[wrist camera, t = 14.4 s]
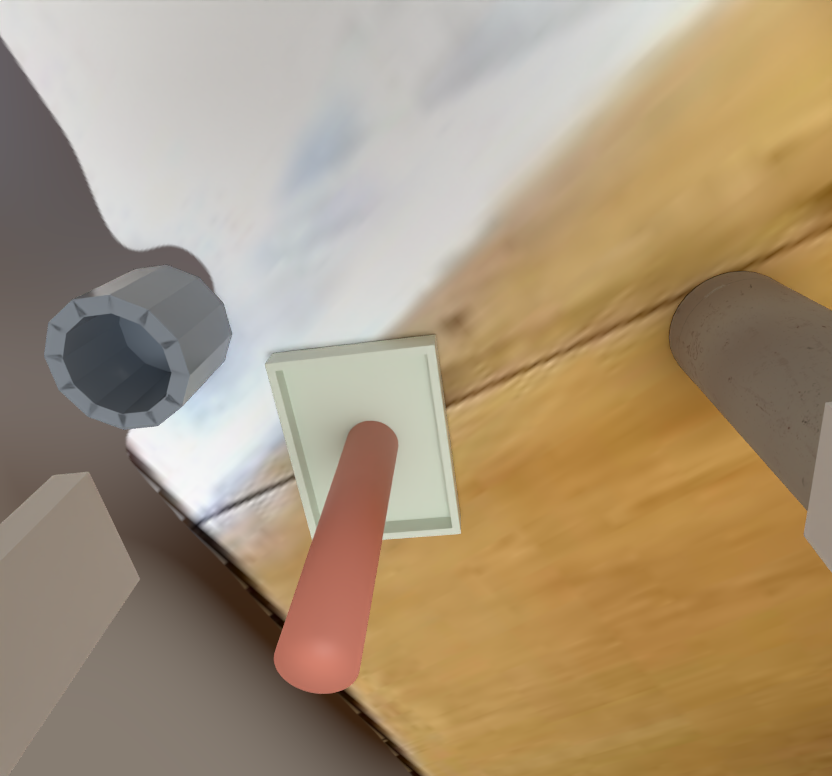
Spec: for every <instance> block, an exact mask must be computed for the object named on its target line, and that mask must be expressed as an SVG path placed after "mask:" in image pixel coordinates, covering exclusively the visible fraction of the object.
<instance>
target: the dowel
mask: <svg viewBox="0 0 832 776" xmlns="http://www.w3.org/2000/svg"><path fill="white" fill-rule="evenodd" d="M397 452H398V439H397V436H396V434H395V433H394V431H393V430H392V429H391V428H390V427H388V426H387V425H385V424H383V423H381V422H378V421H364V422H361V423H358V424H357V425H355V426H354V427H353V428H352V429H351V430H350V432H349V433H348V436H347V439H346V442H345V445H344V448H343V451H342V454H341V457H340V460H339V463H338V466H337V469H336V472H335V475H334V478H333V481H332V484H331V487H330V490H329V493H328V495H327V498H326V501H325V504H324V507H323V510H322V513H321V516H320V519H319V522H318V525H317V528H316V531H315V534H314V537H313V540H312V543H311V546H310V549H309V552H308V555H307V558H306V561H305V564H304V567H303V570H302V573H301V576H300V579H299V582H298V585H297V588H296V591H295V594H294V597H293V600H292V603H291V606H290V609H289V612H288V615H287V618H286V621H285V624H284V627H283V630H282V633H281V636H280V639H279V642H278V644H277V648H276V651H275V654H274V663H275V667H276V669H277V671H278V672H279V674H280V675H281V676H282V677H283V678H284V679H285V680H286V681H287V682H288V683H290V684H291V685H293V686H295V687H297V688H299V689H301V690H304V691H307V692H312V693H320V694H321V693H322V694H323V693H324V694H326V693H334V692H338V691H341V690H343V689H345V688H347V687H349V686H350V685H351V684H353V682H354V681H355V680H356V679H357V677H358V674H359V671H360V665H361V659H362V653H363V648H364V642H365V636H366V630H367V625H368V619H369V613H370V607H371V602H372V596H373V590H374V584H375V578H376V573H377V567H378V561H379V555H380V550H381V544H382V538H383V532H384V527H385V521H386V515H387V509H388V503H389V498H390V492H391V486H392V480H393V475H394V469H395V463H396V457H397Z"/></svg>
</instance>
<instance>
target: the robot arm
mask: <svg viewBox="0 0 832 776" xmlns="http://www.w3.org/2000/svg"><path fill="white" fill-rule="evenodd" d="M804 537H805V538H806V539H807V540H808V542H809V543H810V544H811V546H812V547H813V548H814V550H815V551H816V552H817V554H818V555H819V556H820V558H821V559H822V560H823V562H824V563H825V564H826V566H827V567H828V568H829V570H830V571H831V572H832V402H826V403H825V408H824V414H823V421H822V427H821V433H820V439H819V445H818V451H817V457H816V463H815V469H814V475H813V482H812V488H811V494H810V500H809V506H808V512H807V518H806V524H805V530H804ZM139 580H140V578H139V576H138V574H137V572H136V570H135V568H134V565H133V564H132V561H131V559H130V557H129V555H128V553H127V551H126V549H125V547H124V544H123V542H122V540H121V538H120V536H119V534H118V532H117V530H116V528H115V526H114V524H113V522H112V519H111V517H110V515H109V513H108V511H107V509H106V507H105V505H104V503H103V500H102V498H101V496H100V494H99V492H98V490H97V488H96V486H95V484H94V482H93V480H92V478H91V475H90V473H89V472H82V473H72V474H61V475H53V476H52V477H51V478H50V479H48V480H47V481H46V482H45V483H44V484H43V485H42V486H41V487H40V488H39V489H38V490H37V491H36V492H34V493H33V494H32V495H31V496H30V497H29V498H28V499H27V500H26V501H25V502H24V503H23V504H22V505H20V506H19V507H18V508H17V509H16V510H15V511H14V512H13V513H12V514H11V515H10V516H9V517H8V518H6V519H5V520H4V521H3V522H2V523H1V524H0V776H8V775H9V774H10V772H11V771H12V769H13V768H14V766H15V765H16V763H17V762H18V760H19V759H20V757H21V756H22V754H23V753H24V751H25V750H26V748H27V747H28V745H29V744H30V743H31V741H32V739H33V738H34V737H35V735H36V734H37V732H38V731H39V729H40V728H41V726H42V725H43V723H44V722H45V720H46V719H47V717H48V716H49V714H50V713H51V711H52V710H53V708H54V707H55V705H56V704H57V702H58V701H59V699H60V698H61V696H62V695H63V693H64V692H65V690H66V689H67V687H68V686H69V684H70V683H71V681H72V680H73V678H74V677H75V675H76V674H77V672H78V671H79V669H80V668H81V666H82V665H83V663H84V662H85V660H86V659H87V657H88V656H89V654H90V653H91V651H92V650H93V648H94V647H95V646H96V644H97V643H98V641H99V640H100V638H101V637H102V635H103V634H104V632H105V631H106V629H107V628H108V626H109V625H110V623H111V621H112V620H113V619H114V617H115V616H116V614H117V612H118V611H119V609H120V608H121V607H122V605H123V604H124V602H125V601H126V599H127V598H128V596H129V595H130V593H131V592H132V590H133V589H134V587H135V586H136V584H137V583H138V581H139Z"/></svg>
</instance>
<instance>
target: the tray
mask: <svg viewBox="0 0 832 776" xmlns="http://www.w3.org/2000/svg"><path fill="white" fill-rule="evenodd" d="M265 367H266V371H267V374H268V378H269V382H270V386H271V389H272V393H273V397H274V400H275V404H276V408H277V411H278V415H279V419H280V423H281V426H282V430H283V434H284V437H285V441H286V445H287V448H288V452H289V456H290V460H291V463H292V467H293V471H294V474H295V478H296V482H297V485H298V489H299V493H300V497H301V500H302V504H303V508H304V511H305V515H306V519H307V522H308V526H309V530H310V534H311V537H312V540H313V537H314V534H315V531H316V528H317V525H318V522H319V519H320V516H321V513H322V510H323V507H324V504H325V501H326V498H327V495H328V493H329V490H330V487H331V484H332V481H333V478H334V475H335V472H336V469H337V466H338V463H339V460H340V457H341V454H342V451H343V448H344V445H345V442H346V439H347V436H348V433H349V432H350V430H351V429H352V428H353V427H354V426H355V425H357V424H358V423H361V422H364V421H378V422H381V423H383V424H385V425H387V426H388V427H390V428H391V429H392V430H393V431H394V433H395V434H396V436H397V439H398V452H397V457H396V463H395V469H394V475H393V480H392V486H391V492H390V498H389V503H388V509H387V515H386V521H385V527H384V532H383V538H382V540H385V539H398V538H412V537H425V536H438V535H451V534H461V516H460V509H459V501H458V494H457V487H456V480H455V472H454V465H453V458H452V451H451V443H450V436H449V429H448V422H447V414H446V407H445V400H444V393H443V385H442V378H441V371H440V364H439V356H438V349H437V342H436V335H426V336H417V337H409V338H400V339H391V340H383V341H374V342H365V343H357V344H348V345H339V346H331V347H322V348H313V349H305V350H296V351H287V352H279V353H273V354H272V355H271V357H270V358H269V359H268V361H267V362H266V363H265Z"/></svg>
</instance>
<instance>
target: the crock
mask: <svg viewBox="0 0 832 776" xmlns="http://www.w3.org/2000/svg"><path fill="white" fill-rule="evenodd" d="M231 335H232V332H231V329H230V325H229V322H228V319H227V315H226V312H225V308H224V305H223V302H222V301H221V300H220V299H219V298H218V297H217V296H216V295H215V294H214V293H213V292H212V291H211V289H210V288H209V287H208V286H207V285H206V284H205V283H204V282H203V281H202V280H201V279H200V278H199V277H197V276H195V275H192V274H190V273H187V272H185V271H182V270H179V269H177V268H174V267H172V266H169V265H159V266H152V267H144V268H137V269H134V270H132V271H130V272H128V273H125V274H123V275H121V276H119V277H117V278H115V279H113V280H111V281H109V282H107V283H105V284H103V285H101V286H99V287H97V288H95V289H93V290H91V291H89V292H87V293H85V294H83V295H81V296H79V297H77V298H75V299H73V300H71V301H70V302H69V303H68V304H67V305H66V306H65V307H64V308H63V309H62V310H61V311H60V312H59V313H58V314H57V315H56V316H55V317H54V318H53V319H52V320H51V321H50V322H49V323H48V330H47V338H46V346H45V353H44V357H45V359H46V361H47V363H48V366H49V368H50V371H51V373H52V375H53V378H54V380H55V382H56V384H57V387H58V389H59V391H60V392H62V393H63V394H64V395H65V396H66V397H67V398H68V399H69V400H70V401H72V403H74V404H75V405H76V406H77V407H78V408H79V409H80V410H81V411H82V412H83V413H85V414H86V415H87V416H88V417H90V418H93V419H96V420H99V421H101V422H104V423H107V424H110V425H112V426H115V427H118V428H121V429H123V430H124V429H135V428H144V427H154V426H159V425H160V424H161V423H162V422H164V421H165V420H166V419H167V418H169V417H170V416H171V415H172V414H174V413H175V412H176V411H177V410H179V409H180V408H181V407H182V406H183V405H184V404H185V403H186V402H187V401H188V400H189V399H190V398H191V397H192V395H193V394H194V393H195V392H196V391H197V390H198V389H199V388H200V387H201V386H202V385H203V384H204V383H205V381H206V380H207V379H208V378H209V377H210V376H211V375H212V374H213V373H214V372H215V371H216V370H217V369H218V367H219V366H220V365H221V364H222V363H223V362H224V361H225V357H226V353H227V350H228V346H229V343H230V339H231Z"/></svg>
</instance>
